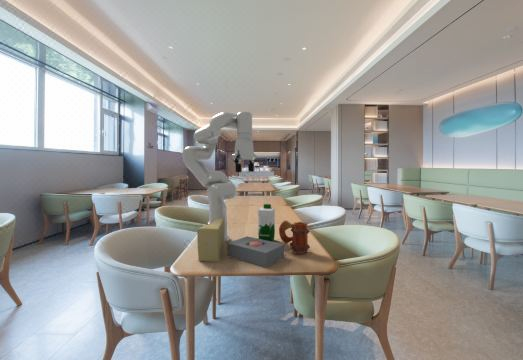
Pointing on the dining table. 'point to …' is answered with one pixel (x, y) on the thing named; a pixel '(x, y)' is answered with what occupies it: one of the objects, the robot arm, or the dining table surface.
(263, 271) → the dining table surface
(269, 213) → the milk carton
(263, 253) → the box
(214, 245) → the cheese
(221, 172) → the robot arm
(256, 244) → the call button
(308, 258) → the dining table surface
